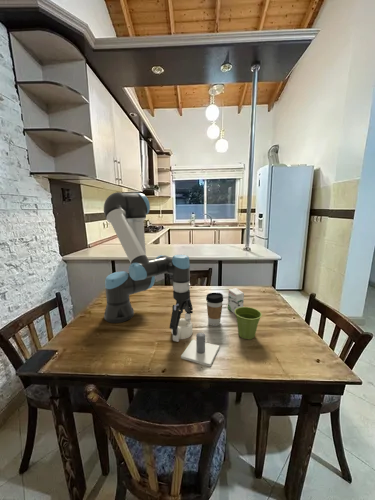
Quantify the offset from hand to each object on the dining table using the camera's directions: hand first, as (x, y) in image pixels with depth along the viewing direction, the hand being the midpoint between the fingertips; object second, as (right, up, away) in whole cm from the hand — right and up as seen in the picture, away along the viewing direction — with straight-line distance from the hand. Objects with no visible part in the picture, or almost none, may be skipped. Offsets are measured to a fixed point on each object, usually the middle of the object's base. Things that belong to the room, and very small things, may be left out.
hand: (182, 333), depth 107 cm
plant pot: (+29, -1, -2) cm, 30 cm away
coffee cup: (+16, +2, +9) cm, 19 cm away
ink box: (+29, +4, +22) cm, 37 cm away
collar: (0, 0, 0) cm, 0 cm away
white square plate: (+8, -3, -14) cm, 16 cm away
